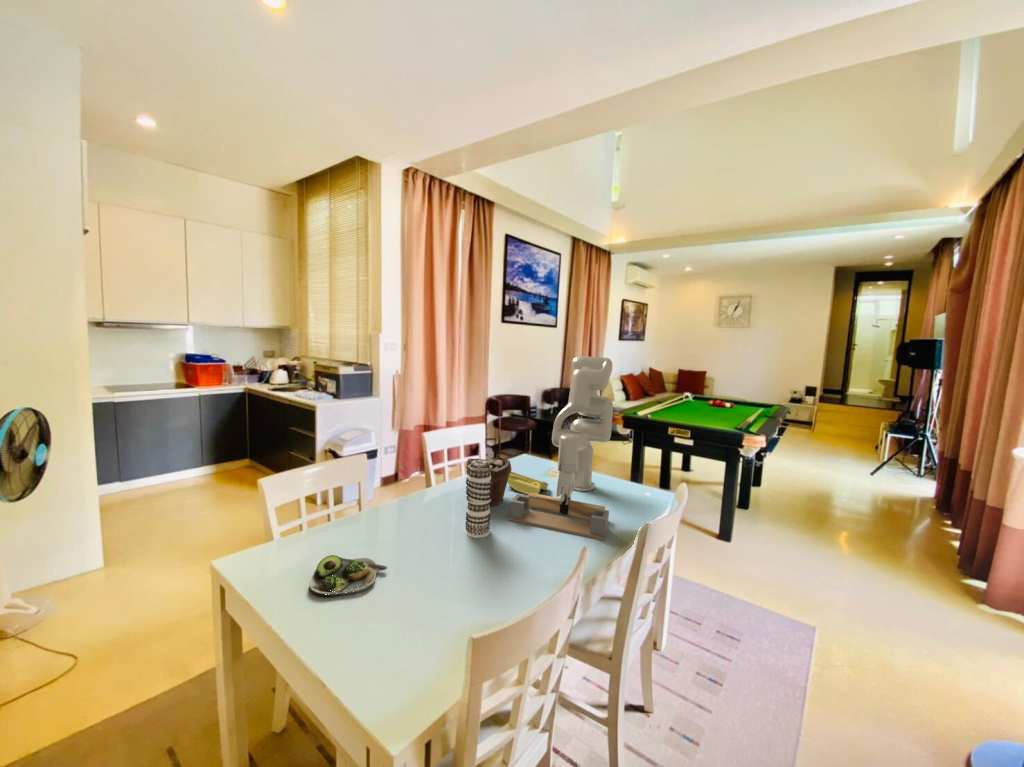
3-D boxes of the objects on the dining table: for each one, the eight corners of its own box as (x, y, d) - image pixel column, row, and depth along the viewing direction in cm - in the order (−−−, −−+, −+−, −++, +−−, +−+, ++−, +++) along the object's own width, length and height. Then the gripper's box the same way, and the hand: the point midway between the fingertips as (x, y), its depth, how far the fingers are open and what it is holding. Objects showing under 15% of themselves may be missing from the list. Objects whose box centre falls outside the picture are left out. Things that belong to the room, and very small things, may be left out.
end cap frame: (517, 510, 164) (518, 492, 163) (608, 528, 152) (609, 509, 151) (508, 520, 155) (509, 502, 154) (603, 540, 143) (605, 520, 142)
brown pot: (519, 497, 176) (520, 456, 174) (492, 514, 160) (493, 468, 158) (485, 488, 186) (485, 449, 184) (456, 502, 169) (456, 460, 167)
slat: (529, 504, 170) (530, 492, 170) (604, 518, 160) (604, 506, 159) (527, 507, 168) (527, 495, 167) (602, 522, 157) (603, 509, 157)
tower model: (458, 533, 143) (460, 463, 140) (473, 523, 151) (475, 456, 148) (481, 541, 139) (484, 468, 136) (495, 529, 147) (498, 461, 144)
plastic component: (549, 484, 187) (542, 480, 179) (544, 500, 186) (536, 497, 177) (512, 472, 197) (503, 468, 189) (507, 487, 195) (497, 484, 187)
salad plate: (388, 558, 127) (388, 543, 126) (384, 594, 110) (384, 577, 109) (320, 563, 122) (319, 548, 122) (304, 602, 105) (303, 584, 105)
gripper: (563, 459, 170) (560, 502, 173) (552, 471, 155) (550, 518, 157) (581, 462, 168) (578, 505, 170) (572, 474, 153) (569, 522, 155)
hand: (564, 511), depth 164 cm, fingers closed on slat, 2 cm apart
